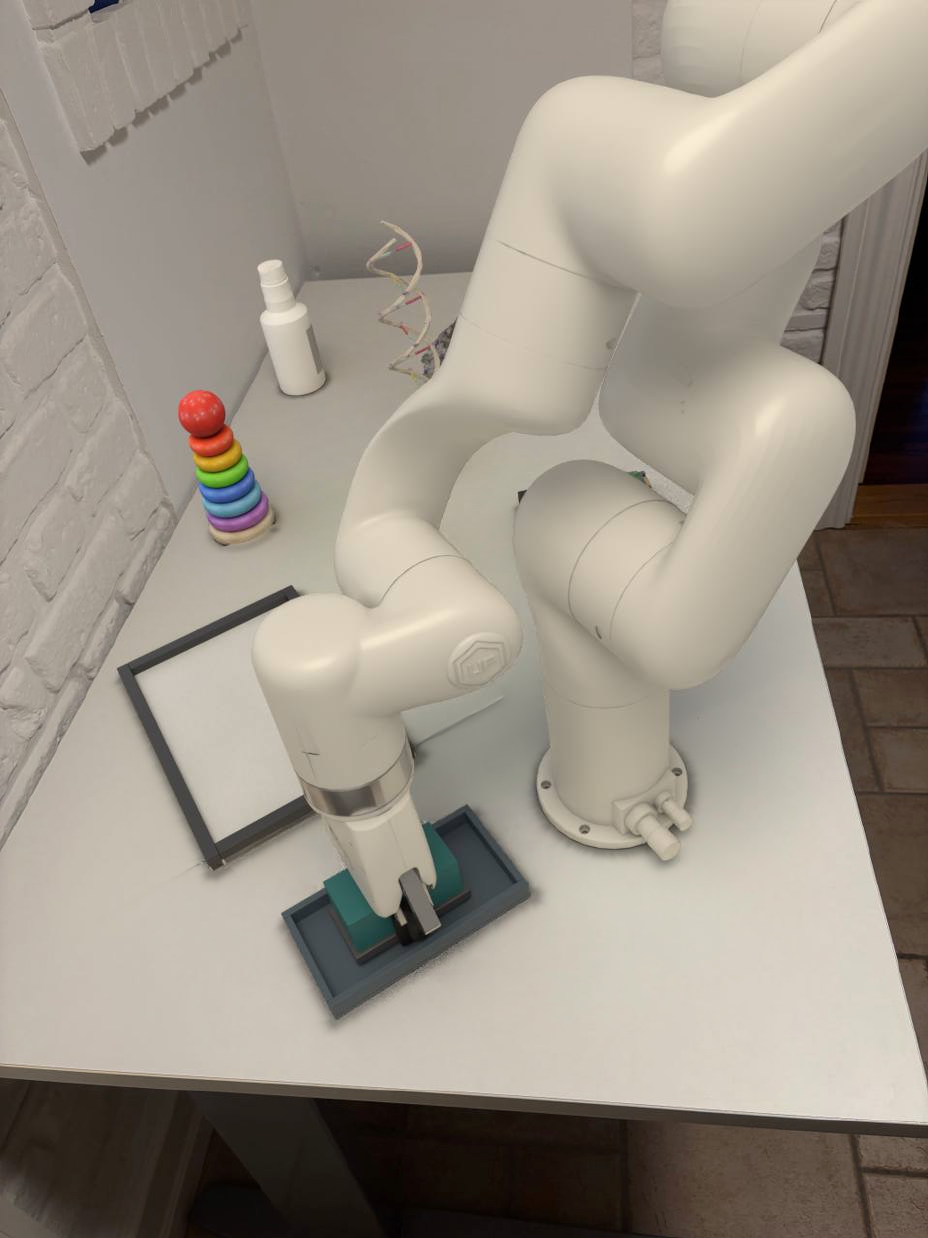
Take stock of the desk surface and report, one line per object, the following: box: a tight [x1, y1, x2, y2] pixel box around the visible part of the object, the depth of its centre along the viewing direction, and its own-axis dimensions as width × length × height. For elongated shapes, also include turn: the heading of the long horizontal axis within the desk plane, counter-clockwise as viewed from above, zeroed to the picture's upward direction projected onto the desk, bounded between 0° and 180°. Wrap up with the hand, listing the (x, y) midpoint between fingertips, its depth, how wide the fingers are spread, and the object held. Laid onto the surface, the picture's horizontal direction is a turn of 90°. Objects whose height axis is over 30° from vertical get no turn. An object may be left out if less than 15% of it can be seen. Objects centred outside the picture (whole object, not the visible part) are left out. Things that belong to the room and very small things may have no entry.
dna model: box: [365, 220, 440, 388], centre depth 109 cm, size 7×6×30 cm
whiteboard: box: [116, 584, 417, 873], centre depth 92 cm, size 28×20×2 cm
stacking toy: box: [177, 389, 275, 546], centre depth 110 cm, size 8×8×19 cm
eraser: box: [322, 820, 472, 965], centre depth 73 cm, size 10×5×5 cm, turn 121°
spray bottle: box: [257, 259, 327, 396], centre depth 134 cm, size 7×7×18 cm
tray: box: [280, 804, 531, 1021], centre depth 75 cm, size 9×17×2 cm, turn 121°
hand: (401, 905), depth 74 cm, fingers closed on eraser, 4 cm apart
